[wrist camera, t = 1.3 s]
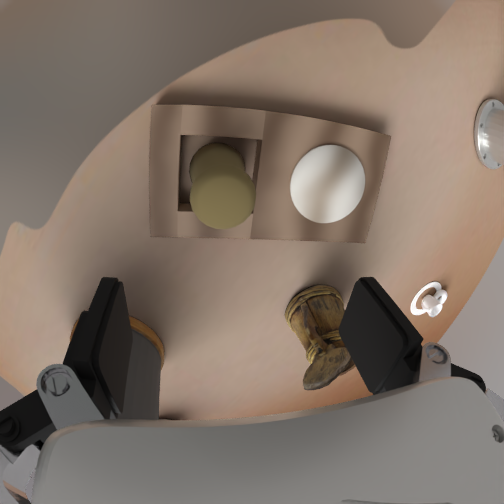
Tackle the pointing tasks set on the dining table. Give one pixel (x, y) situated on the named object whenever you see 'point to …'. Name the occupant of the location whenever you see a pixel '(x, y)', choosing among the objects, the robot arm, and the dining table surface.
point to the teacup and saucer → (430, 301)
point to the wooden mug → (320, 334)
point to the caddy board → (273, 174)
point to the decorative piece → (142, 374)
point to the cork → (220, 187)
